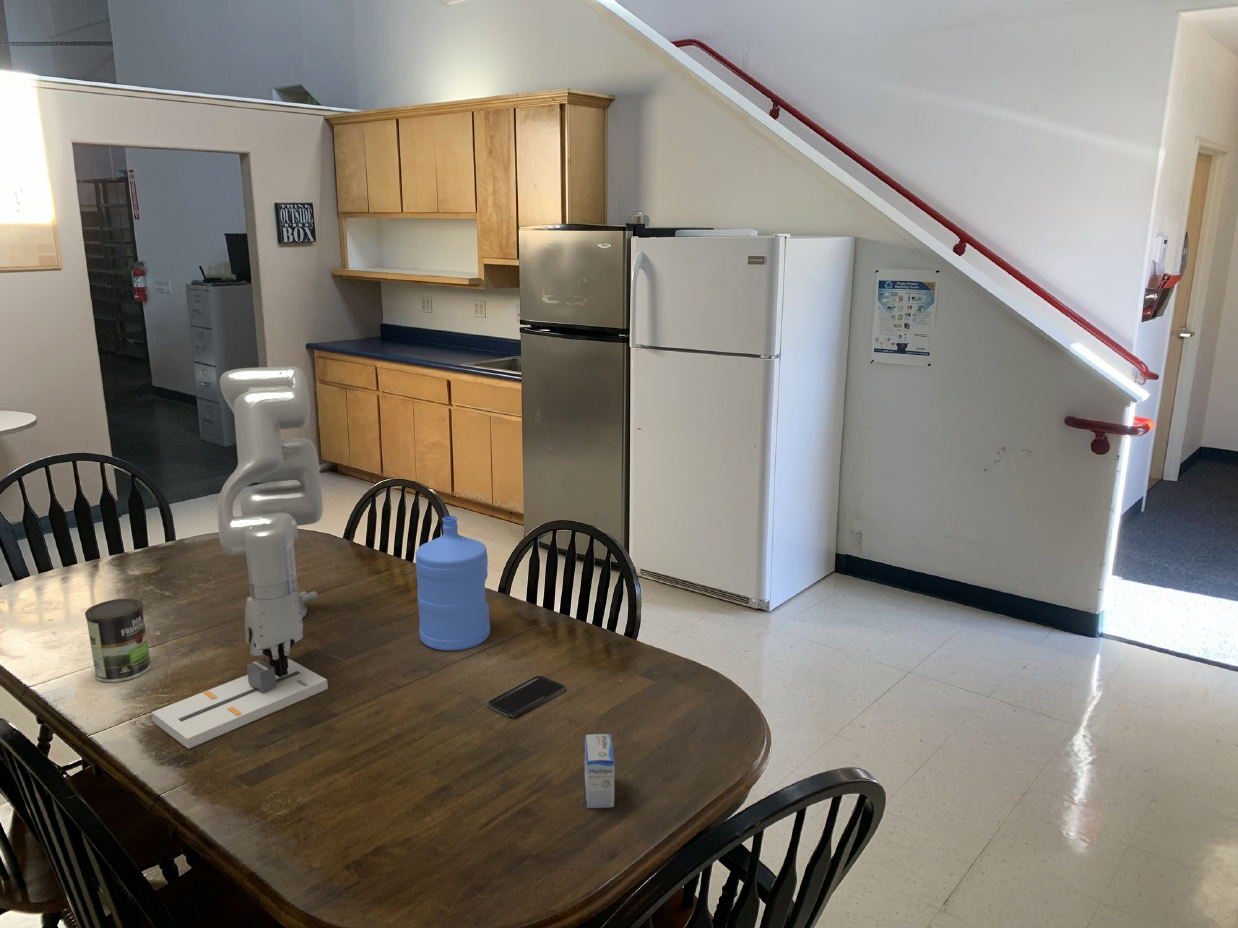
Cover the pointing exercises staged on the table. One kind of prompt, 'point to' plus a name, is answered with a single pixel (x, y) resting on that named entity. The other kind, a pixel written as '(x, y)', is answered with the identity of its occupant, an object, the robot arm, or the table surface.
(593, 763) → the medicine box
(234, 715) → the fader board
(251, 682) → the fader knob
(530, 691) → the phone
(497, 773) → the table surface
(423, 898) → the table surface
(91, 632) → the coffee can
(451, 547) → the water jug
